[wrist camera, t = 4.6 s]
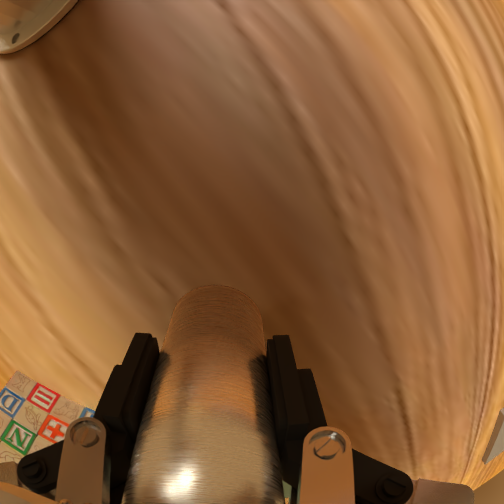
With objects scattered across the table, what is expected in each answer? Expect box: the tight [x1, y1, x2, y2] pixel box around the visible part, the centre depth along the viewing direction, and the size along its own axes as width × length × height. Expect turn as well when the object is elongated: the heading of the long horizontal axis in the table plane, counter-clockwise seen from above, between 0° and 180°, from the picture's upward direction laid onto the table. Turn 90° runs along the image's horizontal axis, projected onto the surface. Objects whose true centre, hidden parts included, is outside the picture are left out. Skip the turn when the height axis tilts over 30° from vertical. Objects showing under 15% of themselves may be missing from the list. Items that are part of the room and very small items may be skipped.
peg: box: [121, 285, 285, 504], centre depth 8 cm, size 4×4×10 cm
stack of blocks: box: [0, 371, 95, 463], centre depth 19 cm, size 21×6×12 cm, turn 70°
